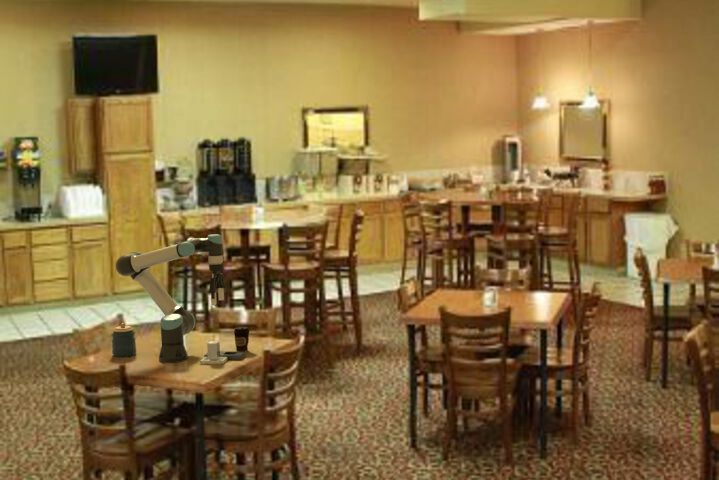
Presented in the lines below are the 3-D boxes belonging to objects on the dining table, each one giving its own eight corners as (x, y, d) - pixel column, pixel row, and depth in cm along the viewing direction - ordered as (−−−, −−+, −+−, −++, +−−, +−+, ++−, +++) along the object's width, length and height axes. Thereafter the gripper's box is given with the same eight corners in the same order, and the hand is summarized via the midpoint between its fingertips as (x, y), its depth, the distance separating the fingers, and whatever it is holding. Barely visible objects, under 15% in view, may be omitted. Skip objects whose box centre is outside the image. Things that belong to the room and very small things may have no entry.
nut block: (208, 362, 526) (207, 343, 525) (211, 359, 531) (210, 341, 530) (217, 362, 525) (216, 343, 524) (220, 360, 530) (219, 341, 529)
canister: (107, 355, 550) (105, 323, 548) (127, 350, 560) (125, 319, 558) (121, 358, 542) (119, 326, 540) (141, 354, 551) (139, 322, 549)
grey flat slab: (204, 359, 534) (204, 354, 534) (209, 355, 543) (209, 351, 543) (240, 360, 531) (240, 355, 531) (245, 356, 540) (245, 351, 540)
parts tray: (200, 364, 524) (200, 360, 524) (205, 360, 533) (205, 356, 533) (222, 364, 523) (222, 361, 522) (227, 360, 531) (227, 356, 531)
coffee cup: (247, 353, 547) (246, 329, 546) (232, 352, 549) (231, 329, 547) (251, 349, 556) (251, 326, 554) (237, 349, 557) (236, 326, 556)
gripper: (215, 266, 526) (217, 306, 529) (229, 260, 551) (230, 298, 553) (201, 266, 527) (203, 306, 530) (216, 260, 552) (217, 298, 554)
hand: (217, 302), depth 542 cm, fingers open, 13 cm apart
